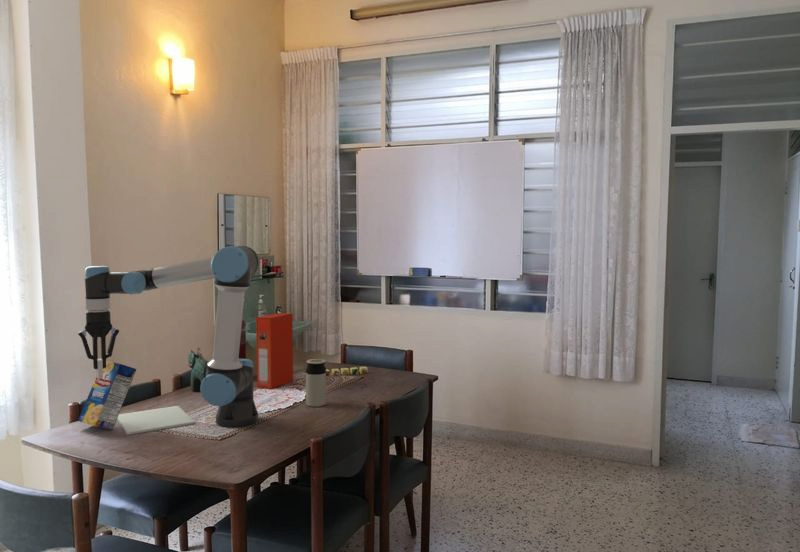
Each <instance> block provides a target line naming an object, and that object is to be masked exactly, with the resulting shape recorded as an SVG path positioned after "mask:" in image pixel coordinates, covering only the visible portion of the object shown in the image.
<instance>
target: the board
mask: <svg viewBox="0 0 800 552" xmlns="http://www.w3.org/2000/svg"><path fill="white" fill-rule="evenodd" d="M116 421H117V422H118V423H119V425H120V426H121V428H122V429H123V431H124V432H125V434H126V435H127V436H130V435H134V434H140V433H141V434H143V433H147V432H152V431H153V432H154V431H160V430H166V429H171V428H177V427H183V426H189V425H195V423H196V422H195V420H194V419H193V418H191V417H190V416H189V415H188V414H187V413H186V411H184V410H183V409H182V408H181V407H180V406H179V405H174V406H169V407H168V406H167V407H159V408H154V409H153V408H152V409H145V410H139V411H133V412H126V413H119V415H118V418H117V420H116Z"/></svg>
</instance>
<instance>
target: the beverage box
mask: <svg viewBox="0 0 800 552" xmlns="http://www.w3.org/2000/svg"><path fill="white" fill-rule="evenodd" d="M136 371H137V368H135V367H131V366H128V365H125V364H122V363H119V362H114V361H109V360H106V368H103V378H102V379H98V378H97V375H96V376H95V379H94V381H93V383H92V387H91V388H90V390H89V393H88V396H87V398H86V400H85V402H84V406H83V408H82V410H81V411H80V415H79V417H78V420H77V421H78V422H80V423H84V424H87V425H90V426H92V427H96V428H102V429H105V430H106V429H107V430H110V431H113V429H114V427H115V425H116V423H117V421H118V420H117V418H118V415H119V414H120V411H121V410H122V407H123V405H124V403H125V400H126V397H127V394H128V392H129V390H130V386H131V384H132V382H133V379H134V377H135V374H136Z"/></svg>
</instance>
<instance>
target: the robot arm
mask: <svg viewBox="0 0 800 552" xmlns="http://www.w3.org/2000/svg"><path fill="white" fill-rule="evenodd" d="M260 263H261V262H260V258H259V255H258V253H257V252H256V251H255V250H254V249H253V248H251V247H250V246H246V245H236V246H235V245H229V246H225V247H222V248H219V250H217V251H216V252H215V253H214V255H213V256H212V257H209V258H202V259H197V260H196V259H195V260H192V261H185V262H180V263H176V264H169V265H164V266H159V267H158V266H157V267H154V268H148V269H143V270H140V269H139V270H133V271H115V272H114V271H110V267H109V266H108V265H106V266H105V265H99V266H98V265H94V266H93V265H91V266H87V267H86V268H85V270H84V286H85V311H86V312H85V322H86V323H85V326H84V329H82V330H81V331H78V332H77V335H78V336H79V337H80V338H81V341H82V344H83V348H84V351H85V354H86V357H87V359H89V360H93V361H92V362H93V365H92V367H93V369H94V370H96V376H97V378H98V379H102V378H103V368H106V361H107V359H108V358H110V357H112V355H113V351H114V347H115V342H116V339H117V336H118V334H119V333H120V330H119V328H115V327H113V325H112V323H111V311H110V309H111V295H113V294H116V295H117V294H120V295H131V296H132V295H140V294H141V293H143V292H145V291H147V292H148V291H151V290H156V289H160V288H167V287H174V286H178V285H179V286H180V285H183V284H188V283H189V284H190V283H195V282H196V283H197V282H201V281H207V280H212V279H214V282H213V286H215V288H217V291H218V292H217V304H216V312H215V323H214V324H215V326H214V338H213V350H212V359H210V361H208V364H207V373H206V377H205V378H204V379H203V381H202V383H201V386H200V391H199V392H200V394H201V397H202V398H203V399H204V400H205V402H207V403H208V404H210V405H212V406H214V407H218V409H217V412H216V413H215V414H216V415H215V424H216V425H218V426H219V427H220V426H221V427H227V428H230V427H231V428H235V427H236V428H237V427H239V428H240V427H246V426H249V425H253V424H255V423H257V422H258V421H259V412H258V409H257V406H256V404H255V400H254V362H253V360H251V359H249V358H246V359H238V358H239V347H240V337H241V330H242V323H243V316H244V315H243V314H244V311H243V310H244V301H245V294H246V293H245V292H246V291H247V290H248V289H249V288H250V285H251V278H252V277H253V276H254V275H255V274H256V273H257V272H258V271H259V268H260ZM87 333H88V334H89V336H90V337H91V339H92V353H91V350H90V346H89V343H88V339H87V337H86V336H87ZM109 333H111V336H110V339H109V343H108V347H107V345H106V344H107V343H106V342H107V341H106V339H107V338H106V337H107V336H108V334H109ZM98 338H100V357H101V358H99V356H98V355H99V352H98V349H99V347H98Z"/></svg>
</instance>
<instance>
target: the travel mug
mask: <svg viewBox="0 0 800 552" xmlns="http://www.w3.org/2000/svg"><path fill="white" fill-rule="evenodd" d="M306 363H307V365H306V368H305V405H306V406H308V407H312V408H318V407H319V408H320V407H323V406H325V405H326V404H327V402H326V401H327V385H326V384H327V383H326V382H327V377H326V369H327V367H326V366H325V363H326V360H325V359H323V358H322V359H321V358H311V359H307V360H306Z"/></svg>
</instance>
